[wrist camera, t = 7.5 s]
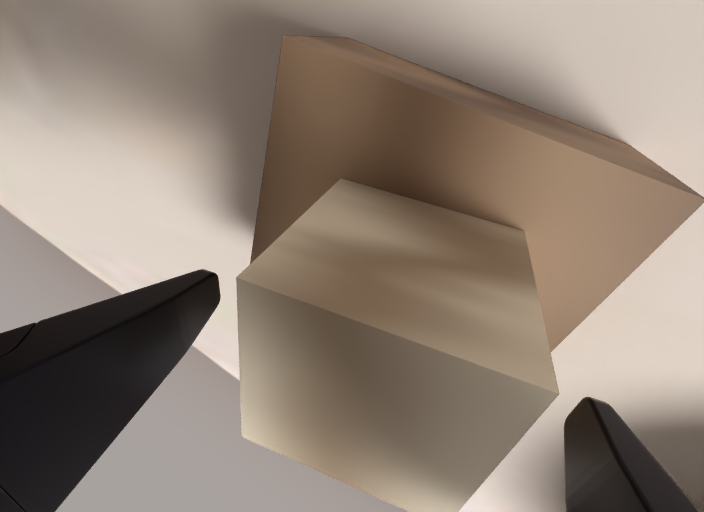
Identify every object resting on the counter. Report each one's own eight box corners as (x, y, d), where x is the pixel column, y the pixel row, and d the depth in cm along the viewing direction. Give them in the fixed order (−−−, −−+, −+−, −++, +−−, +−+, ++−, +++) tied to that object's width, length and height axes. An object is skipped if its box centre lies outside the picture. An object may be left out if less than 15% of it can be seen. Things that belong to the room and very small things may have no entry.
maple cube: (524, 231, 9) (559, 394, 5) (458, 357, 12) (444, 527, 8) (340, 178, 10) (236, 277, 6) (320, 308, 12) (241, 437, 8)
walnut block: (627, 143, 11) (707, 199, 7) (477, 335, 17) (474, 426, 13) (349, 37, 12) (282, 35, 8) (296, 253, 18) (242, 314, 14)
